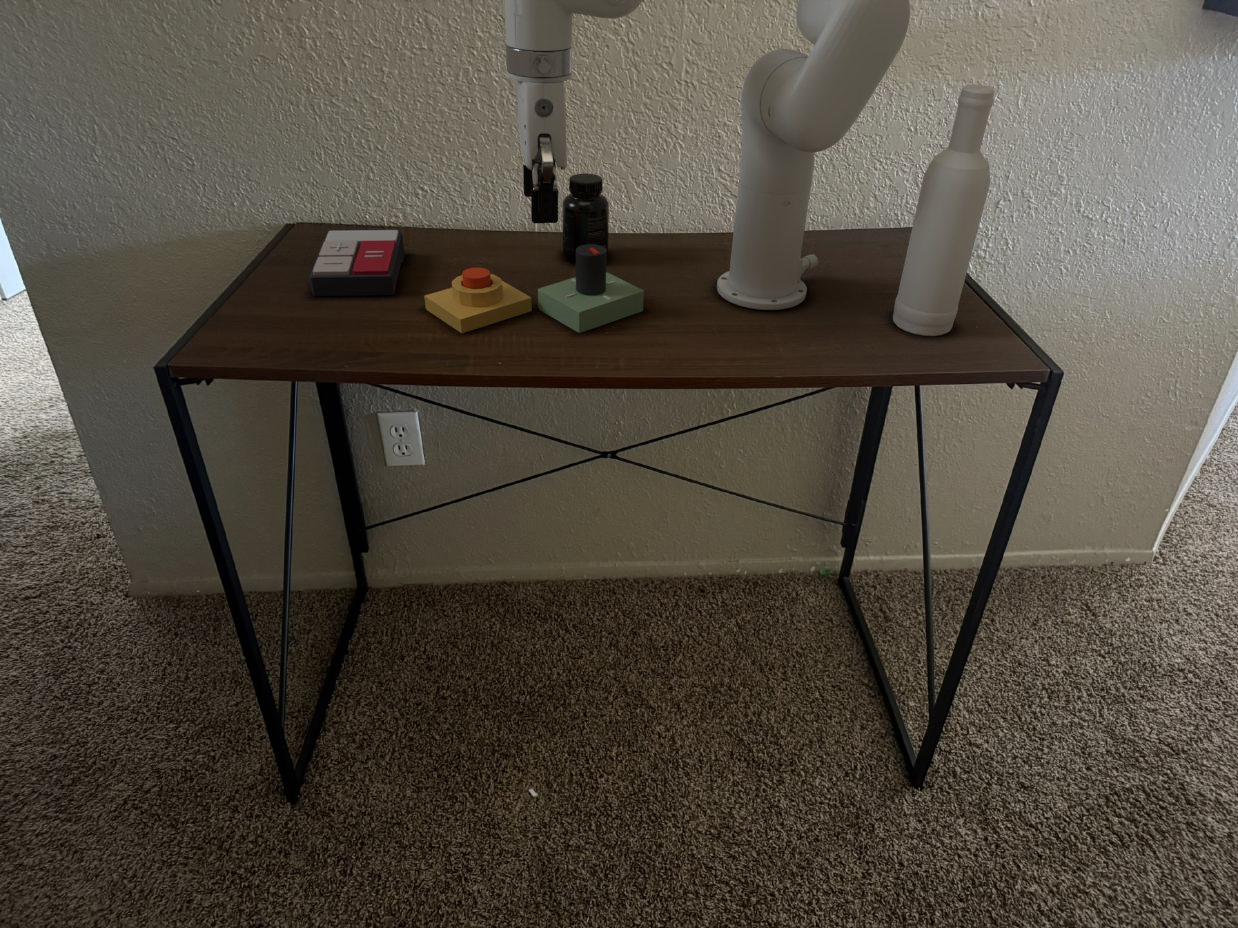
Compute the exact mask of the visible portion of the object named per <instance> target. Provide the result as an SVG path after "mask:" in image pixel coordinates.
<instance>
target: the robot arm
mask: <svg viewBox="0 0 1238 928" xmlns="http://www.w3.org/2000/svg"><path fill="white" fill-rule="evenodd" d="M642 2H643V0H504V20H505V21H504V22H505V23H504V24H505V25H504V27H505V57H506V58H505V60H506V61H505V63H506V64H505V65H506V77H507V78H509V79H511V80H513V81H516V94H517V95H516V97H517V100H516V101H517V120H518V122H517V123H518V136H519V146H520V152H521V155H522V159H523V162H524V164H523V165H522V169H523V171H522V172H523V173H522V175H523V177H522V179H523V195H524V197H526V198H530V212H531V213H530V214H531V215H530V216H531V217H530V219H531V222H532V223H533V224H556V223H558V222H559V189H558V179H557V168H560V169H561V171H564V170H565V169H566V168H567V167H568V154H567V153H568V151H567V113H566V112H567V111H566V110H567V108H566V94H565V93H566V92H565V84H564V82H567V81H569V80H571V79H572V78H573V77H572V76H573V71H572V69H573V14H575V15H583V16H589V17H594V18H601V19H607V20H615V19H621V18H623V17H626V16H628V15H630V14H632V13H633V12H634V11H636V10H637V9H638V8H639V6H640V5H641V4H642ZM795 19H796V24H797V28H798V30H799V32H800V34H801V35H802V36H803V37H804V38H805V40H807V41H808V42H809V43H811V44H812V45H813V47H812V49H811V51H810V52H809V55H807V54H805V53H803V52H801V51H798V50H795V49H790V48H789V49H788V48H783V49H782V48H779V49H775V50H772V51H769V52H767V53H765V54H764V55H762V56H760V58H758V59H757V60H756V61H755V62H754V63H753V64H752V65H751V67H750V69H749V70H748V72H747V74H746V77H745V79H744V82H743V86H742V91H741V101H740V102H741V106H740V107H741V108H740V109H741V110H740V111H741V112H740V113H741V154H740V155H741V157H740V168H739V178H738V183H737V195H736V205H735V213H734V222H733V233H732V241H731V242H732V243H731V252H730V254H731V255H730V261H729V270H728V271H725V272H724V273H722V274H721V275H720V276H719V277H718V278H717V283H716V290H717V293H718V294H719V295H720V296H721V298H723V299H724V300H725V301H727V302H729V303H731V304H734V305H736V306H739V307H743V308H745V309H751V310H761V311H778V310H785V309H786V310H787V309H790V308H793V307H796V306H798V305H800V304H801V303H803V302H804V301H805V299H806V297H807V291H808V288H807V286H806V283H805V282H804V281H803V280H802V279H801V276H802V275H803V274H804V273H805V272H806V271H808V270H811V269H814V268H816V267H817V266H818V265H819V259H818V257H817V255H815V254H814V253H813V254H809V255H806V256H803V257H801V256H802V250H803V243H804V237H805V230H806V222H807V216H808V210H809V202H810V196H811V188H812V185H813V177H814V172H815V171H814V169H815V156H816V155H815V154H816V153H819V152H823V151H826V150H827V149H830V148H831V147H833V146H835V145H836V144H837V143H839V142H840V141H841V140H842V138H844V136H846V135H847V133H848V132H849V131H850V129H851V128H852V127H853V126H854V124H855V122H856V121H857V120H858V118H859V116H860V115H861V113H862V112H863V110H864V108H865V107H866V105H867V104H868V102H869V101H870V99H871V98H872V96H873V94H874V93H875V91H876V90H877V87H878V86H879V84H880V83H881V82H882V80H883V78H884V76H885V75H886V73H887V72H888V70H889V69H890V67H891V66H892V64H893V62H894V60H895V58H896V57H897V55H898V53H899V52H900V49H901V47H902V46H903V43H904V42H905V39H906V36H907V33H908V29H909V26H910V25H909V24H910V19H911V4H910V0H798V3H797V6H796V11H795Z"/></svg>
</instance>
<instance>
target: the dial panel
mask: <svg viewBox="0 0 1238 928" xmlns="http://www.w3.org/2000/svg"><path fill="white" fill-rule="evenodd" d="M644 295H645V290H643V289H642V288H640V287H638V286H636V285H634V284H631V283H630V282H628V281H626V280H623V279H621V278H620V277H617V276H615V275H613V274H611V273H610V272H608V271H606V290H605V292H604V293H602V294H599V295H584V294H581V293H579V292H577V291H576V276H575V277H571V278H569V279H565V280H562V281H559V282H555V283H552V284H549V285H545V286H542V287H539V288H537V309H538V311H540V312H542V313H543V314H546V315H548V316H549V317H551V319H555V321H558V322H559V323H561V324H563V325H564V326H566V327H568V328H569V329H571V330H573V331H575V332H576V333H578V334H581V333H584V332H587V331H591V330H592V329H596V328H599V327H601V326H604V325H608V324H610V323H612V322H615V321H618V320H622V319H624V318H627V317H630V316H633V315H636V314H639V313H641V312H644V298H645V296H644Z"/></svg>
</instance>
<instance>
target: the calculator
mask: <svg viewBox="0 0 1238 928" xmlns="http://www.w3.org/2000/svg"><path fill="white" fill-rule="evenodd" d="M403 238H404V237H403V232H402V231H400V230H398V229H366V230H365V229H359V230H358V229H357V230H355V229H354V230H353V229H352V230H341V229H340V230H329V231H327V232H326V233H325V235H324V238H323V240H322V242H321V246H320V248H319V251H318V253H317V255H316V258H315V260H314V263H313V266H312V269H311V270H310V273H309V276H308V278H309V282H310V287H311V292H312V296H313V297H356V296H357V297H363V296H365V297H366V296H367V297H368V296H369V297H370V296H372V297H373V296H393V295H395V292H396V288H397V284H398V279H399V274H400V271H401V266H402V264H403V263H404V258H405V244H404V239H403Z"/></svg>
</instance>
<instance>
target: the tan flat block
mask: <svg viewBox="0 0 1238 928" xmlns="http://www.w3.org/2000/svg"><path fill="white" fill-rule="evenodd" d="M490 278H491V286H490V287H486V288H483V289H470V288H465V287H464V286H463V275H462V274H461V275H458V276H457V277H455V278H454V279H453V280H451V287H450V288H446V289H442V290H439V291H435V292H432V293H429V294H425V295H424V296H423V297H424V305H425V310H426V311H427V312H429V313H431V314H432V315H433V316H435V317H436V318H438V319H439V320H441V321H442V322H444V323H446V324H447V326H448V325H449V326H450V327H451V328H453V329H454V330H456V331H457V332H459V333H460V334H465V333H467V332H471V331H474V330H477V329H481V328H483V327H487V326H489V325H492V324H493V325H494V324H496V323H499V322H502V321H505V320H509V319H512V318H515V317H518V316H521V315H524V314H527V313H530V312H532V311H533V310H532V309H533V307H532V304H533V303H532V297H531V296H530V295H528V294H526V293H524V292H522V291H521V290H519V289H517V288H516V287H514V286H512V285H511V284H509V283H507V282H505V281H504V280H502V278H501V277H499V276H497V275H496V274H493V273H490Z"/></svg>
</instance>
